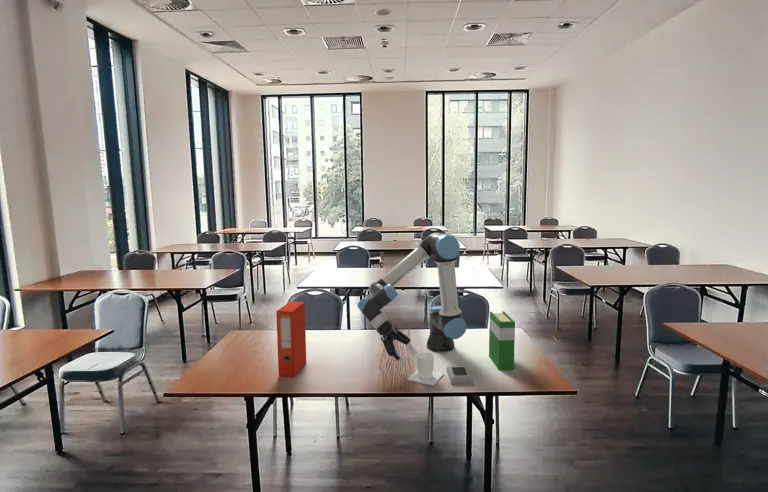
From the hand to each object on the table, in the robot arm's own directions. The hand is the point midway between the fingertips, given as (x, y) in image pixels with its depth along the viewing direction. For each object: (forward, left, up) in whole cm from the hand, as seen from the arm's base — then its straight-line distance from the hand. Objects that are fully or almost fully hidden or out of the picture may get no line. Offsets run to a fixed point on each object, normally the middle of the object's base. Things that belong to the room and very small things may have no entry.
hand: (410, 359), depth 216 cm
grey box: (-7, +22, -8) cm, 24 cm away
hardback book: (-33, +35, -8) cm, 49 cm away
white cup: (0, +8, -7) cm, 10 cm away
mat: (0, +8, -7) cm, 11 cm away
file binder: (+20, -54, -8) cm, 58 cm away
